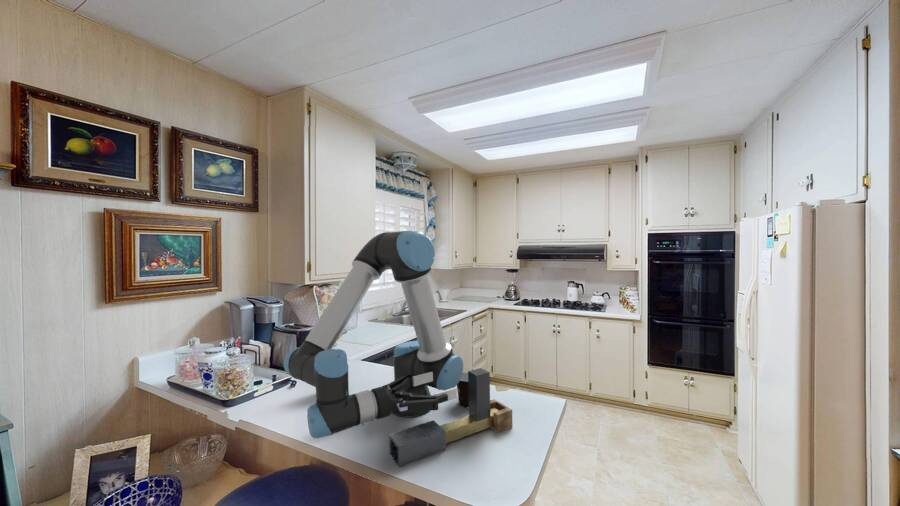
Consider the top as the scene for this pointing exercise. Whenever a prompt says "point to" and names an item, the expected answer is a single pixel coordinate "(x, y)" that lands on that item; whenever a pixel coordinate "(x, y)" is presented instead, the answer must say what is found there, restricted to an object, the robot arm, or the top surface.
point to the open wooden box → (501, 416)
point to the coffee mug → (463, 390)
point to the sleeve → (416, 443)
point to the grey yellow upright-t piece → (473, 408)
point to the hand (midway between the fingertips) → (443, 383)
